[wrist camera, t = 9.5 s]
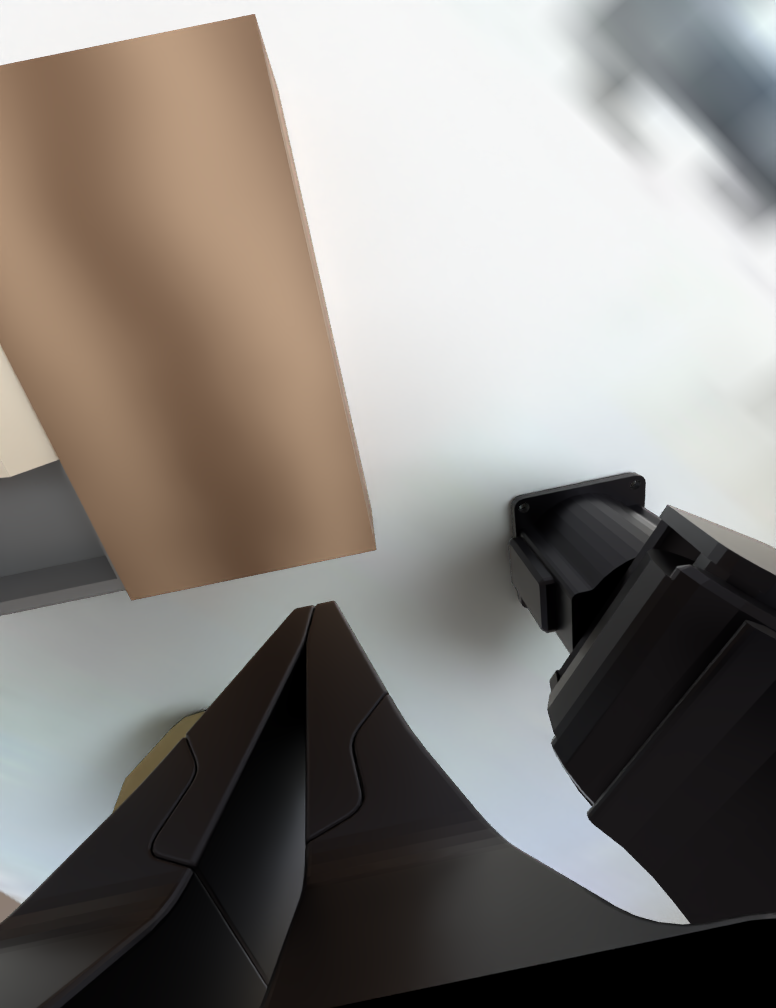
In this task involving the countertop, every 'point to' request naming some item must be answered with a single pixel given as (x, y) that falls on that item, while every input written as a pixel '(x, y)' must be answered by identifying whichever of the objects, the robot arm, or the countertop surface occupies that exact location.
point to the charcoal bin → (48, 543)
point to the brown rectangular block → (175, 308)
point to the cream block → (19, 427)
